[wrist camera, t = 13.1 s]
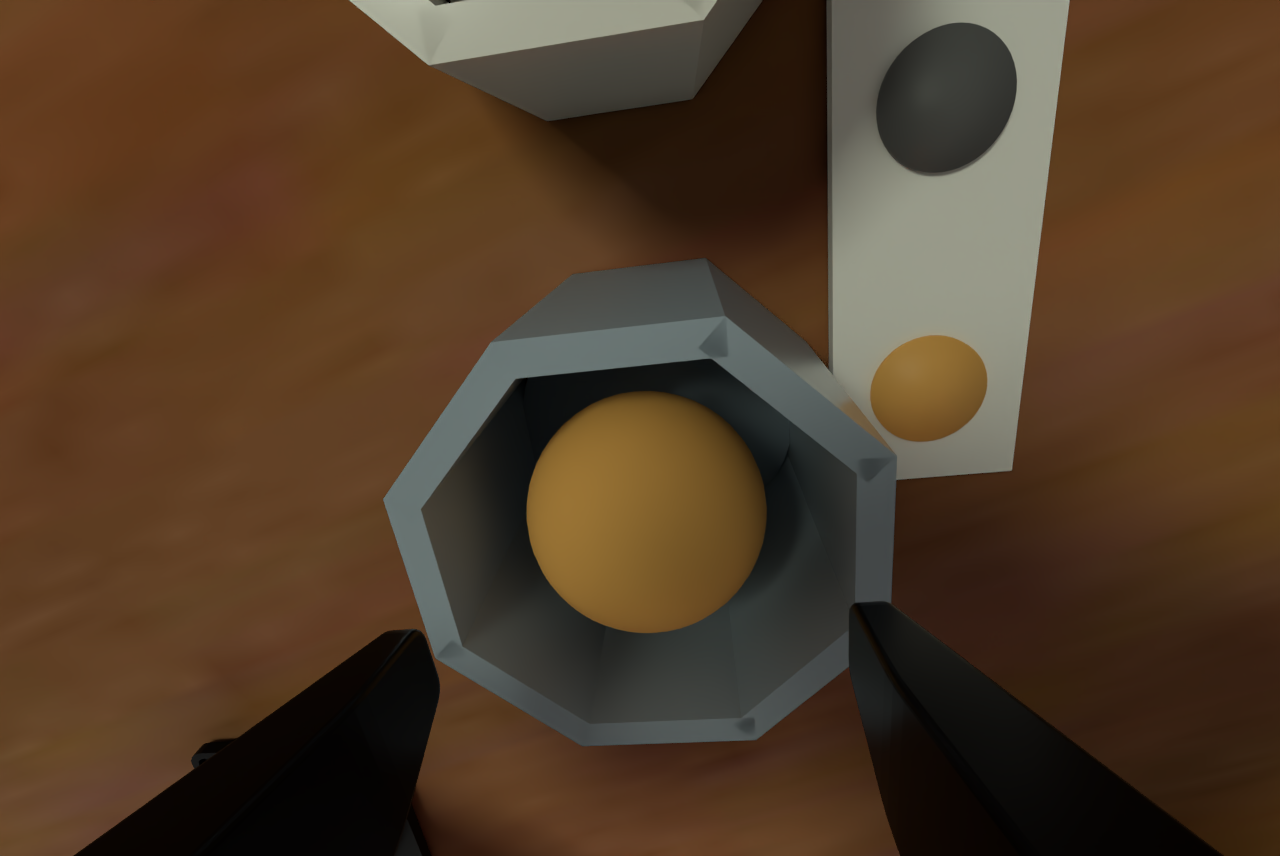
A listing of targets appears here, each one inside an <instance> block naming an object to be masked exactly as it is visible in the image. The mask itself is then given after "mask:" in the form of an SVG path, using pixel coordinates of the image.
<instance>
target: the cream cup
mask: <svg viewBox="0 0 1280 856" xmlns="http://www.w3.org/2000/svg"><path fill="white" fill-rule="evenodd" d="M350 1H351V2H352V3H353V4H355V5H356V6H357V7H358V8H359V9H361V10H362V11H363V12H364V13H366V14H367V15H368V16H369V17H370V18H372V19H373V20H374V21H375V22H376V23H378V24H379V25H380V26H381V27H383V28H384V29H385V30H386V31H387V32H389V33H390V34H391V35H392V36H394V37H395V38H396V39H397V40H398V41H400V42H401V43H402V44H403V45H405V46H406V47H407V48H408V49H409V50H411V51H412V52H413V53H414V54H416V55H417V56H418V57H419V58H420V59H422V60H423V61H424V62H425V63H427V64H428V65H429V66H431V67H433V68H436V69H438V70H440V71H442V72H444V73H446V74H448V75H450V76H452V77H455V78H457V79H459V80H461V81H463V82H465V83H467V84H469V85H472V86H474V87H476V88H478V89H480V90H482V91H484V92H486V93H488V94H491V95H493V96H495V97H497V98H499V99H501V100H503V101H505V102H508V103H510V104H512V105H514V106H516V107H518V108H520V109H522V110H525V111H527V112H529V113H531V114H533V115H535V116H537V117H539V118H541V119H544V120H546V121H552V120H559V119H565V118H572V117H579V116H585V115H592V114H598V113H605V112H612V111H618V110H625V109H631V108H638V107H645V106H651V105H658V104H664V103H671V102H678V101H684V100H691V99H693V98H694V97H695V95H696V94H697V92H698V91H699V89H700V88H701V87H702V85H703V84H704V82H705V81H706V80H707V78H708V77H709V75H710V74H711V73H712V71H713V70H714V68H715V67H716V66H717V64H718V63H719V61H720V60H721V58H722V57H723V56H724V54H725V53H726V51H727V50H728V49H729V47H730V46H731V44H732V43H733V42H734V40H735V39H736V37H737V36H738V35H739V33H740V32H741V30H742V29H743V27H744V26H745V25H746V23H747V22H748V20H749V19H750V18H751V16H752V15H753V13H754V12H755V11H756V9H757V8H758V6H759V5H760V4H761V2H762V1H763V0H450V1H451V3H448V2H447V1H446V0H350Z"/></svg>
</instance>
